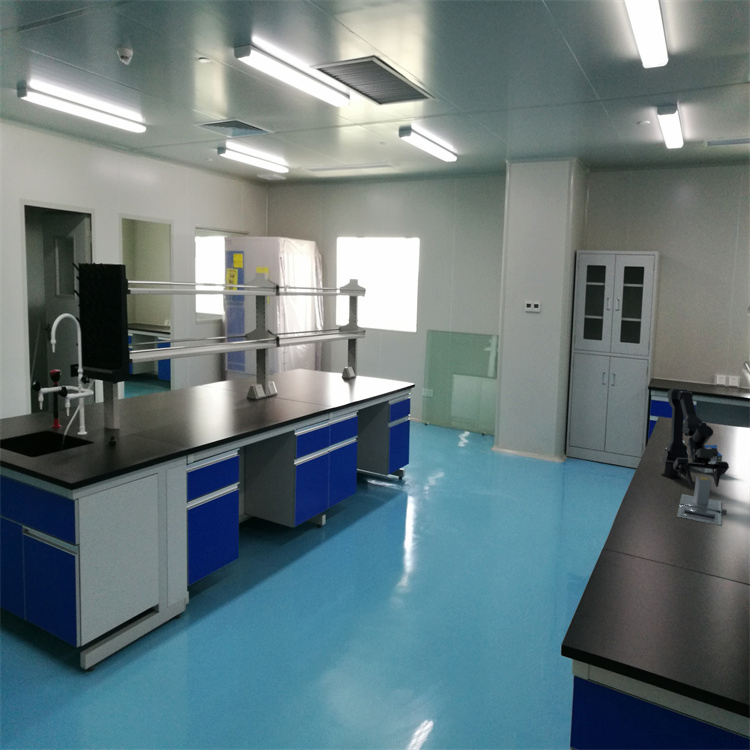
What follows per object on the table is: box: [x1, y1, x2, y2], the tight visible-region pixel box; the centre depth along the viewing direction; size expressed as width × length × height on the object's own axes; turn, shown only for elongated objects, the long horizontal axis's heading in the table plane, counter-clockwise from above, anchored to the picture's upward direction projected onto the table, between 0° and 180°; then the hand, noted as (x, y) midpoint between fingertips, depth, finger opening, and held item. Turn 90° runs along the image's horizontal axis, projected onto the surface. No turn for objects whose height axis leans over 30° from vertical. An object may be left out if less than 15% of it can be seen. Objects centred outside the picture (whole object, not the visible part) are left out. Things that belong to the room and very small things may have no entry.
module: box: [693, 476, 712, 504], centre depth 236 cm, size 4×4×10 cm
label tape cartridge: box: [697, 444, 723, 474], centre depth 281 cm, size 9×4×12 cm, turn 105°
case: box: [676, 493, 728, 526], centre depth 230 cm, size 29×16×2 cm, turn 151°
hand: (704, 485), depth 235 cm, fingers open, 9 cm apart
